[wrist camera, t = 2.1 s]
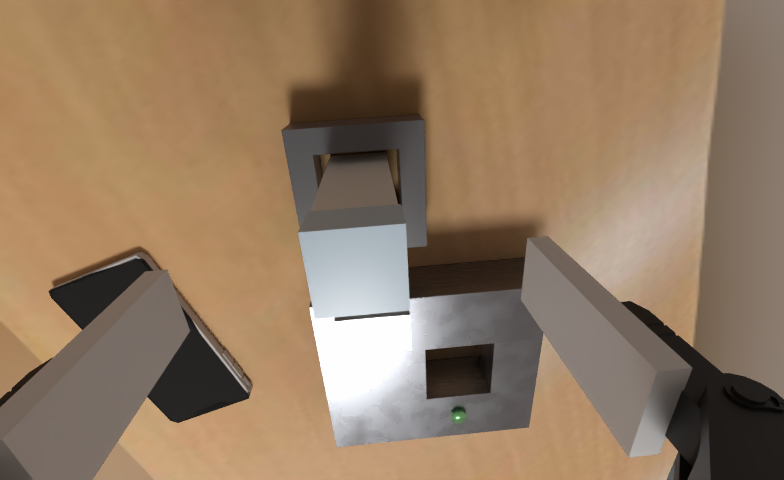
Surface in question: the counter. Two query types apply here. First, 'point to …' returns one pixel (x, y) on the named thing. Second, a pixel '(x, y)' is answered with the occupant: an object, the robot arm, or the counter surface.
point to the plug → (356, 240)
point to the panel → (434, 377)
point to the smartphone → (189, 364)
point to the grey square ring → (356, 137)
